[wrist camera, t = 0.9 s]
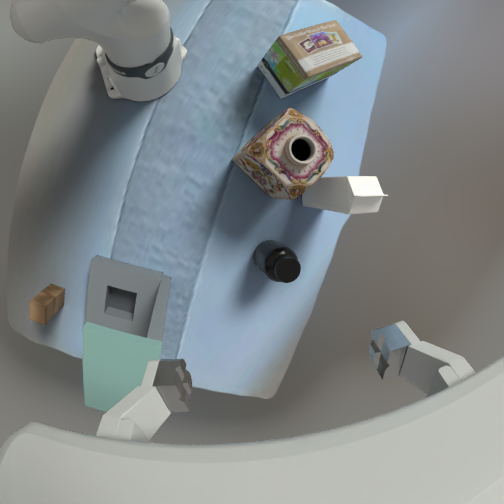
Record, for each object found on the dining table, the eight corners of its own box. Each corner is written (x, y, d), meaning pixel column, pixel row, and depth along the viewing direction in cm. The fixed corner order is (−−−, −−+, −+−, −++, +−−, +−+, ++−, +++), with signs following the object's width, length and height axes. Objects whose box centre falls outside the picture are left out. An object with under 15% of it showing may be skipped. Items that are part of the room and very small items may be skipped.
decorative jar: (270, 199, 57) (304, 204, 40) (229, 160, 54) (248, 147, 36) (306, 160, 57) (351, 151, 40) (269, 121, 53) (302, 96, 36)
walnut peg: (50, 299, 50) (29, 319, 40) (50, 283, 50) (29, 301, 39) (64, 304, 52) (44, 325, 41) (64, 288, 51) (44, 307, 40)
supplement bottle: (271, 275, 61) (290, 295, 50) (247, 259, 59) (261, 276, 48) (289, 250, 61) (312, 264, 49) (265, 233, 59) (284, 243, 47)
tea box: (280, 101, 53) (308, 78, 39) (255, 65, 50) (276, 34, 36) (330, 78, 54) (364, 56, 40) (307, 45, 51) (336, 17, 37)
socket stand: (90, 317, 54) (44, 393, 27) (97, 255, 51) (36, 306, 25) (159, 335, 58) (149, 424, 32) (172, 275, 56) (162, 344, 30)
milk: (326, 204, 60) (390, 215, 39) (301, 205, 59) (360, 217, 38) (324, 177, 59) (389, 176, 38) (300, 178, 58) (358, 176, 37)
